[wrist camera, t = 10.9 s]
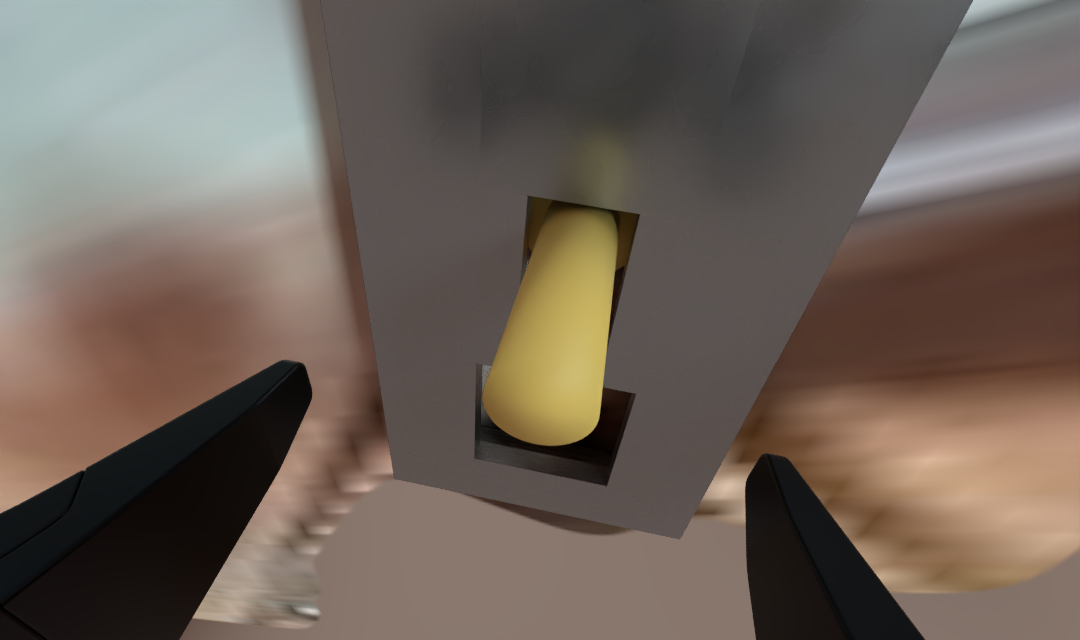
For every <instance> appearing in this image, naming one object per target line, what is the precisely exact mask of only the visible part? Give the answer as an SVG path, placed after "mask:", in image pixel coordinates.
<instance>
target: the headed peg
mask: <svg viewBox="0 0 1080 640" xmlns="http://www.w3.org/2000/svg"><path fill="white" fill-rule="evenodd" d="M636 217H637V214H636V213H630V212H624V211H618V210H612V209H606V208H600V207H594V206H588V205H582V204H576V203H570V202H564V201H557V200H551V199H545V198H539V197H533V198H532V209H531V220H530V231H529V241H528V247H529V249H530V250H531V251H532V255H531V258H530V260H529V263H528V266H527V269H526V272H525V274H524V277H523V280H522V283H521V286H520V288H519V291H518V294H517V297H516V300H515V302H514V305H513V308H512V311H511V314H510V316H509V319H508V322H507V325H506V328H505V330H504V333H503V336H502V339H501V342H500V344H499V347H498V350H497V353H496V356H495V358H494V361H493V364H492V367H491V370H490V372H489V375H488V378H487V381H486V384H485V386H484V389H483V395H482V399H483V405H484V408H485V410H486V412H487V414H488V416H489V417H490V418H491V420H492V421H493V422H494V423H495V424H496V425H497V426H498V427H499V428H501V429H502V430H503V431H505V432H506V433H508V434H510V435H511V436H513V437H515V438H518V439H520V440H523V441H526V442H529V443H533V444H538V445H547V446H558V445H565V444H570V443H573V442H576V441H579V440H581V439H583V438H584V437H586V436H587V435H589V434H590V433H591V432H592V431H593V430H594V429H595V427H596V425H597V423H598V421H599V416H600V408H601V399H602V389H603V380H604V370H605V361H606V352H607V342H608V333H609V323H610V314H611V304H612V295H613V285H614V276H615V271H616V270H618V269H620V268H621V267H623V266H624V265H625V263H626V259H627V255H628V250H629V246H630V242H631V238H632V234H633V230H634V225H635V221H636Z"/></svg>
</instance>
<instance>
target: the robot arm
mask: <svg viewBox="0 0 1080 640" xmlns="http://www.w3.org/2000/svg"><path fill="white" fill-rule="evenodd" d="M311 399H312V388H311V384H310V381H309V377H308V373H307V370H306V367H305V365H304V364H303V363H300V362H295V361H290V360H281V361H279V362H277V363H275V364H273V365H271V366H270V367H268V368H266V369H264V370H262V371H260V372H259V373H257V374H255V375H253V376H251V377H250V378H248V379H246V380H244V381H242V382H241V383H239V384H237V385H235V386H233V387H232V388H230V389H228V390H226V391H224V392H223V393H221V394H219V395H217V396H215V397H214V398H212V399H210V400H208V401H206V402H204V403H203V404H201V405H199V406H197V407H195V408H194V409H192V410H190V411H188V412H186V413H185V414H183V415H181V416H179V417H177V418H176V419H174V420H172V421H170V422H168V423H167V424H165V425H163V426H161V427H159V428H158V429H156V430H154V431H152V432H150V433H148V434H147V435H145V436H143V437H141V438H139V439H138V440H136V441H134V442H132V443H130V444H129V445H127V446H125V447H123V448H121V449H120V450H118V451H116V452H114V453H112V454H111V455H109V456H107V457H105V458H103V459H102V460H100V461H98V462H96V463H94V464H92V465H91V466H89V467H87V468H86V470H85V471H80V472H78V473H76V474H74V475H72V476H71V477H69V478H67V479H65V480H63V481H61V482H60V483H58V484H56V485H54V486H52V487H50V488H49V489H47V490H45V491H43V492H41V493H39V494H37V495H35V496H34V497H32V498H30V499H28V500H26V501H24V502H22V503H20V504H19V505H17V506H14V507H12V508H10V509H8V510H6V511H4V512H2V513H0V640H179V639H180V637H181V636H182V634H183V632H184V630H185V629H186V627H187V626H188V624H189V622H190V621H191V619H192V617H193V616H194V614H195V612H196V610H197V609H198V607H199V605H200V604H201V602H202V600H203V599H204V597H205V595H206V594H207V592H208V590H209V589H210V587H211V585H212V583H213V582H214V580H215V578H216V577H217V575H218V573H219V572H220V570H221V568H222V567H223V565H224V563H225V561H226V560H227V558H228V556H229V555H230V553H231V551H232V550H233V548H234V546H235V545H236V543H237V541H238V540H239V538H240V536H241V534H242V533H243V531H244V529H245V528H246V526H247V524H248V523H249V521H250V519H251V518H252V516H253V514H254V513H255V511H256V509H257V507H258V506H259V504H260V502H261V501H262V499H263V497H264V496H265V494H266V492H267V491H268V489H269V487H270V486H271V484H272V482H273V480H274V479H275V477H276V475H277V473H278V472H279V470H280V468H281V466H282V464H283V462H284V460H285V458H286V455H287V453H288V451H289V449H290V446H291V444H292V442H293V440H294V438H295V435H296V433H297V431H298V429H299V427H300V424H301V422H302V420H303V418H304V416H305V413H306V411H307V409H308V407H309V405H310V402H311ZM745 504H746V557H747V573H748V581H749V590H750V597H751V605H752V612H753V620H754V627H755V635H756V640H925V639H924V638H923V636H922V635H921V633H920V632H919V631H918V630H917V628H916V627H915V625H914V624H913V623H912V622H911V621H910V619H909V618H908V616H907V615H906V614H905V612H904V611H903V610H902V609H901V607H900V606H899V604H898V603H897V602H896V600H895V599H894V598H893V596H892V595H891V594H890V592H889V591H888V590H887V588H886V587H885V586H884V585H883V583H882V582H881V581H880V579H879V578H878V577H877V575H876V574H875V573H874V571H873V570H872V569H871V567H870V566H869V565H868V563H867V562H866V561H865V559H864V558H863V557H862V555H861V554H860V553H859V551H858V550H857V549H856V548H855V546H854V545H853V544H852V542H851V541H850V540H849V538H848V537H847V536H846V534H845V533H844V532H843V530H842V529H841V528H840V526H839V525H838V524H837V522H836V521H835V520H834V518H833V517H832V516H831V515H830V513H829V512H828V511H827V509H826V508H825V507H824V505H823V504H822V503H821V501H820V500H819V499H818V497H817V496H816V495H815V493H814V492H813V491H812V489H811V488H810V487H809V485H808V484H807V483H806V481H805V480H804V479H803V478H802V476H801V475H800V474H799V472H798V471H797V470H796V468H795V467H794V466H793V464H792V463H791V462H790V461H789V460H788V459H787V458H786V457H783V456H779V455H773V454H768V453H765V454H763V455H761V457H760V458H759V460H758V461H757V463H756V465H755V466H754V468H753V469H752V471H751V473H750V474H749V476H748V478H747V481H746V486H745Z"/></svg>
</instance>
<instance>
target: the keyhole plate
mask: <svg viewBox="0 0 1080 640" xmlns="http://www.w3.org/2000/svg"><path fill="white" fill-rule="evenodd" d="M320 1H321V8H322V14H323V21H324V27H325V34H326V40H327V46H328V53H329V59H330V66H331V72H332V79H333V85H334V92H335V98H336V105H337V111H338V118H339V124H340V131H341V137H342V144H343V150H344V157H345V163H346V169H347V176H348V182H349V189H350V195H351V202H352V208H353V215H354V221H355V228H356V234H357V241H358V247H359V254H360V260H361V267H362V273H363V279H364V286H365V292H366V299H367V305H368V312H369V318H370V325H371V331H372V338H373V344H374V351H375V357H376V364H377V370H378V377H379V383H380V389H381V396H382V402H383V409H384V415H385V422H386V428H387V435H388V441H389V448H390V454H391V461H392V467H393V474H394V479H398V480H403V481H407V482H413V483H417V484H422V485H426V486H431V487H436V488H440V489H445V490H450V491H454V492H459V493H464V494H469V495H473V496H478V497H483V498H487V499H492V500H497V501H502V502H506V503H511V504H516V505H520V506H525V507H530V508H534V509H539V510H544V511H549V512H553V513H558V514H563V515H567V516H572V517H577V518H582V519H586V520H591V521H596V522H600V523H605V524H610V525H615V526H619V527H624V528H629V529H633V530H638V531H643V532H648V533H653V534H657V535H662V536H667V537H671V538H676V539H680V538H681V537H682V535H683V533H684V531H685V529H686V528H687V526H688V524H689V522H690V520H691V518H692V517H693V515H694V513H695V511H696V509H697V507H698V505H699V504H700V502H701V500H702V498H703V496H704V494H705V493H706V491H707V489H708V487H709V485H710V483H711V482H712V480H713V478H714V476H715V474H716V472H717V471H718V469H719V467H720V465H721V463H722V461H723V460H724V458H725V456H726V454H727V452H728V450H729V448H730V447H731V445H732V443H733V441H734V439H735V437H736V436H737V434H738V432H739V430H740V428H741V426H742V425H743V423H744V421H745V419H746V417H747V415H748V414H749V412H750V410H751V408H752V406H753V404H754V402H755V401H756V399H757V397H758V395H759V393H760V391H761V390H762V388H763V386H764V384H765V382H766V380H767V379H768V377H769V375H770V373H771V371H772V369H773V368H774V366H775V364H776V362H777V360H778V358H779V356H780V355H781V353H782V351H783V349H784V347H785V345H786V344H787V342H788V340H789V338H790V336H791V334H792V333H793V331H794V329H795V327H796V325H797V323H798V322H799V320H800V318H801V316H802V314H803V312H804V311H805V309H806V307H807V305H808V303H809V301H810V299H811V298H812V296H813V294H814V292H815V290H816V288H817V287H818V285H819V283H820V281H821V279H822V277H823V276H824V274H825V272H826V270H827V268H828V266H829V265H830V263H831V261H832V259H833V257H834V255H835V253H836V252H837V250H838V248H839V246H840V244H841V242H842V241H843V239H844V237H845V235H846V233H847V231H848V230H849V228H850V226H851V224H852V222H853V220H854V219H855V217H856V215H857V213H858V211H859V209H860V207H861V206H862V204H863V202H864V200H865V198H866V196H867V195H868V193H869V191H870V189H871V187H872V185H873V184H874V182H875V180H876V178H877V176H878V174H879V173H880V171H881V169H882V167H883V165H884V163H885V162H886V160H887V158H888V156H889V154H890V152H891V150H892V149H893V147H894V145H895V143H896V141H897V139H898V138H899V136H900V134H901V132H902V130H903V128H904V127H905V125H906V123H907V121H908V119H909V117H910V116H911V114H912V112H913V110H914V108H915V106H916V104H917V103H918V101H919V99H920V97H921V95H922V93H923V92H924V90H925V88H926V86H927V84H928V82H929V81H930V79H931V77H932V75H933V73H934V71H935V70H936V68H937V66H938V64H939V62H940V60H941V58H942V57H943V55H944V53H945V51H946V49H947V47H948V46H949V44H950V42H951V40H952V38H953V36H954V35H955V33H956V31H957V29H958V27H959V25H960V24H961V22H962V20H963V18H964V16H965V14H966V13H967V11H968V9H969V7H970V5H971V3H972V1H973V0H320ZM533 197H539V198H545V199H551V200H557V201H564V202H570V203H576V204H582V205H588V206H594V207H600V208H606V209H612V210H618V211H624V212H630V213H636V214H637V217H636V221H635V225H634V230H633V234H632V238H631V242H630V246H629V250H628V255H627V259H626V263H625V267H624V271H623V276H622V280H621V284H620V288H619V292H618V297H617V301H616V305H615V309H614V313H613V317H612V322H611V326H610V330H609V334H608V342H607V352H606V361H605V370H604V380H603V387H604V388H609V389H614V390H619V391H625V392H630V393H631V396H630V399H629V402H628V406H627V409H626V412H625V416H624V419H623V422H622V425H621V429H620V432H619V435H618V438H617V442H616V445H615V448H614V451H613V453H612V452H607V451H602V450H597V449H593V448H588V447H583V446H578V445H573V444H565V445H558V446H547V445H538V444H533V443H529V442H526V441H523V440H520V439H518V438H515V437H513V436H511V435H510V434H508V433H506V432H505V431H503V430H498V429H493V428H488V427H483V426H481V395H482V364H484V365H489V366H492V364H493V361H494V358H495V356H496V353H497V350H498V347H499V344H500V342H501V339H502V336H503V333H504V330H505V328H506V325H507V322H508V319H509V316H510V314H511V311H512V308H513V305H514V302H515V300H516V297H517V294H518V291H519V288H520V286H521V283H522V280H523V277H524V274H525V272H526V263H527V252H528V241H529V231H530V220H531V209H532V198H533Z"/></svg>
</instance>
